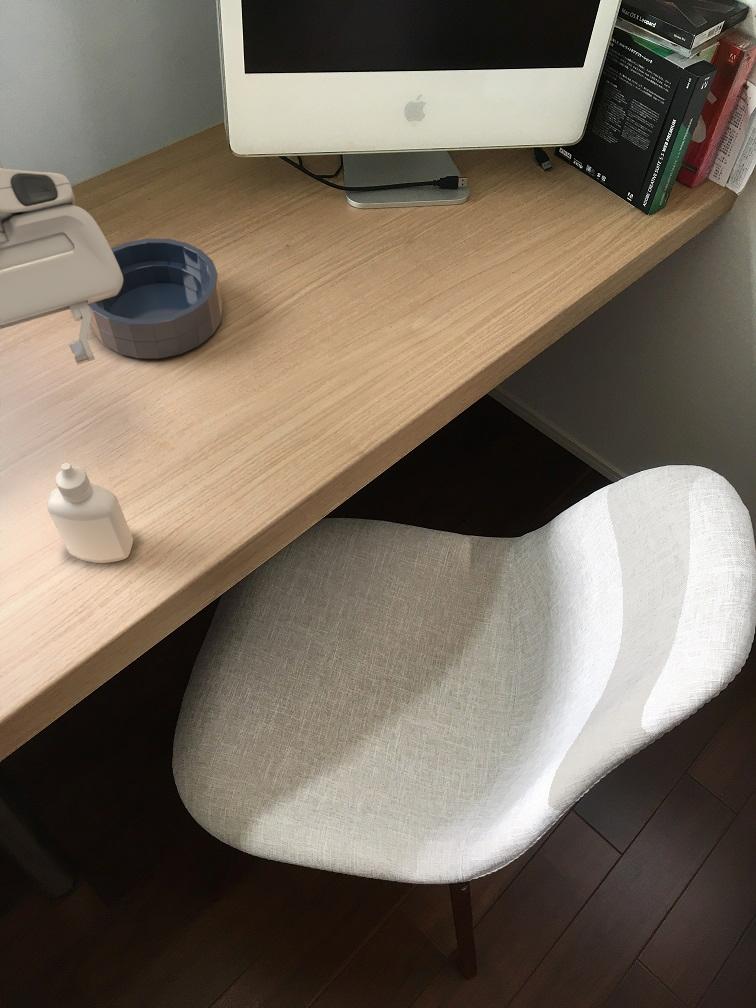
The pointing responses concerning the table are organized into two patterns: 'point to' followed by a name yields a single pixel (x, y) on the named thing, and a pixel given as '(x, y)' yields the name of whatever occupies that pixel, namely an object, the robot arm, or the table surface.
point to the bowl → (159, 300)
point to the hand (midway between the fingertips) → (29, 380)
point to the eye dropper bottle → (88, 518)
